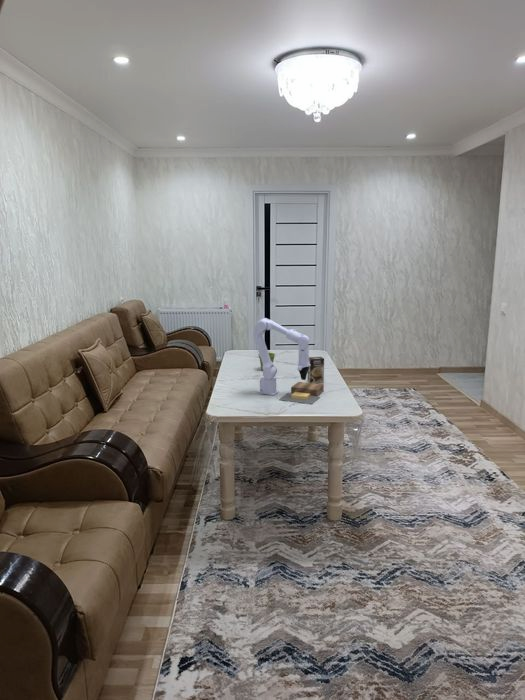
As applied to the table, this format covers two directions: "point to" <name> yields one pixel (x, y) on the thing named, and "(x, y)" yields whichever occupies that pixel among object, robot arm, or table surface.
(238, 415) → the table surface
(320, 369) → the coffee box
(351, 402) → the table surface
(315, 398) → the mat
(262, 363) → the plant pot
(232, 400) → the table surface
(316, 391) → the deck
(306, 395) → the tile
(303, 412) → the table surface
